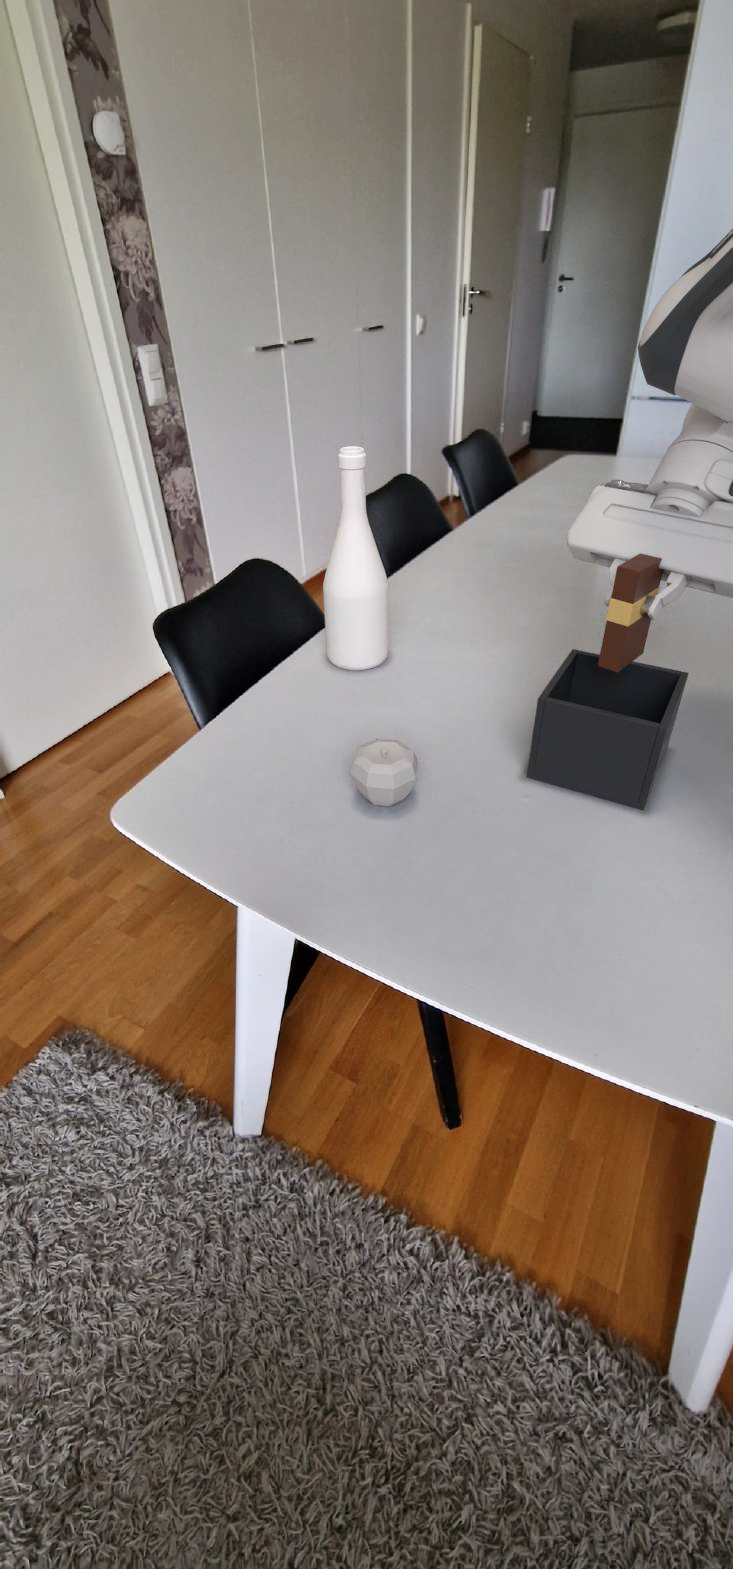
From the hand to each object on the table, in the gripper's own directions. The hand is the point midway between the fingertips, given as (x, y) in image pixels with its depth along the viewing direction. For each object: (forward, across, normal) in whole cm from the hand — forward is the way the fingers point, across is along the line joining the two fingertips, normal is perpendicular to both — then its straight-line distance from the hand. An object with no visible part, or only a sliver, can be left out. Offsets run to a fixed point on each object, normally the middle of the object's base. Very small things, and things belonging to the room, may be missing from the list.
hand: (629, 611), depth 73 cm
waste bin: (+14, 0, +14) cm, 20 cm away
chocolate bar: (+4, 0, +5) cm, 6 cm away
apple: (+30, -15, -1) cm, 33 cm away
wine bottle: (+13, -41, +15) cm, 46 cm away
